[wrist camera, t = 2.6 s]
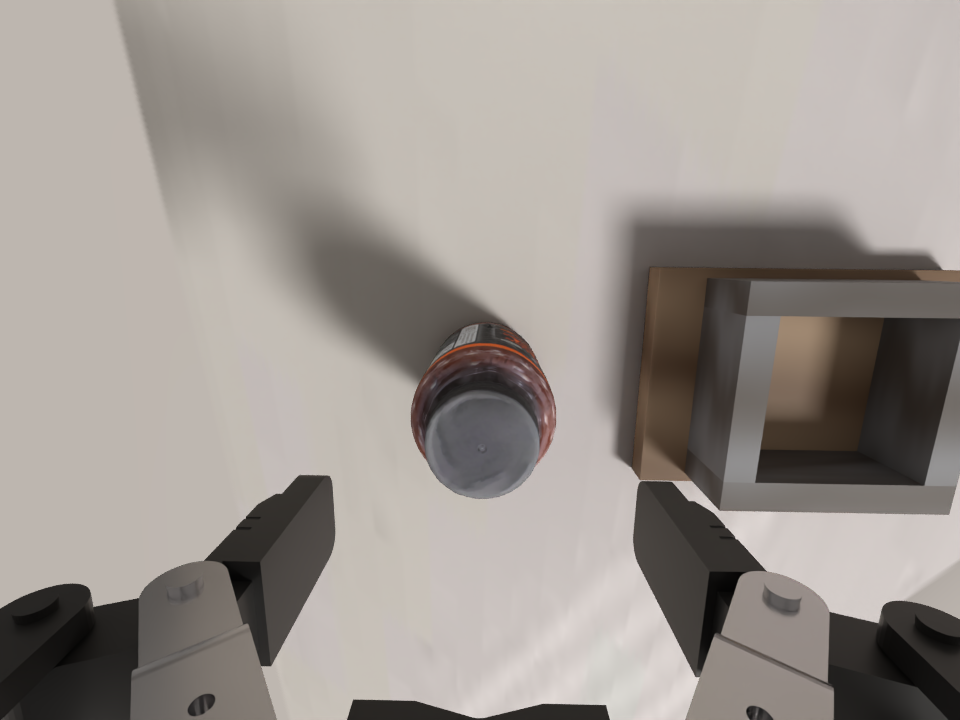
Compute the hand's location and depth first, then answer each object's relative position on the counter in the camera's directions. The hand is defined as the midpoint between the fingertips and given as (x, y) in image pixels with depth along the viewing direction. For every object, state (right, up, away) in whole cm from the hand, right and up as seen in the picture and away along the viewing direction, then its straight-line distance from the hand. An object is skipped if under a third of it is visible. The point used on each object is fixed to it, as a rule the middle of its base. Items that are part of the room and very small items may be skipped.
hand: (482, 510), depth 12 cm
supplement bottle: (0, +3, +15) cm, 15 cm away
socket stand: (+17, +3, +14) cm, 23 cm away
